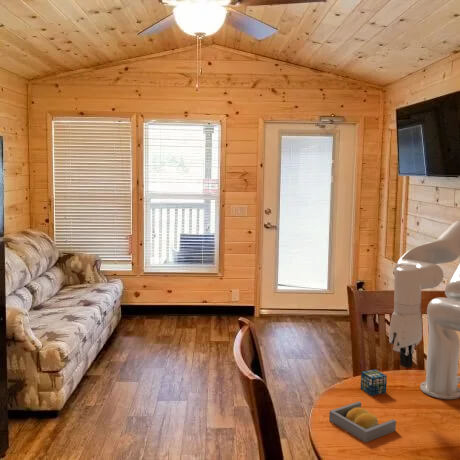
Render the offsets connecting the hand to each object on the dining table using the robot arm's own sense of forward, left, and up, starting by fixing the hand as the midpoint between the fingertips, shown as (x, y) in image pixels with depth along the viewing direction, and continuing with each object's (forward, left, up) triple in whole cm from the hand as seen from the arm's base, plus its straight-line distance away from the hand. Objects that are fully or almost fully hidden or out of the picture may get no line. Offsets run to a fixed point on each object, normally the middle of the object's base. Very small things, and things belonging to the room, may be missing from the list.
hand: (406, 365), depth 154 cm
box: (+17, 0, -14) cm, 22 cm away
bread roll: (+17, -1, -15) cm, 23 cm away
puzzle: (-3, -14, -14) cm, 21 cm away
